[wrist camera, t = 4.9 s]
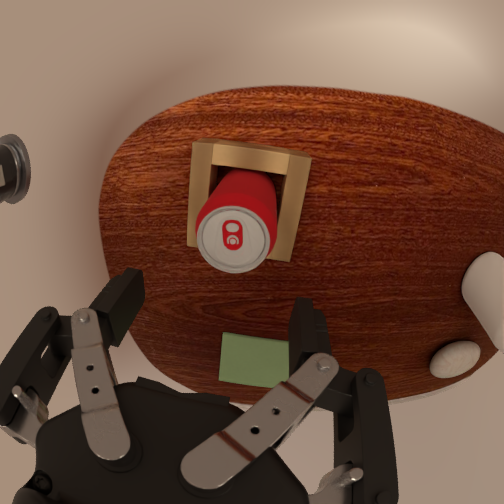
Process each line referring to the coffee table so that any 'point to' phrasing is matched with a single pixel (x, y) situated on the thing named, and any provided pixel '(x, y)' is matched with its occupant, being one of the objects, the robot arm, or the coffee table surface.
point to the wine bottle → (487, 294)
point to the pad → (253, 360)
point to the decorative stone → (454, 359)
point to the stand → (255, 158)
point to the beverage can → (238, 221)
